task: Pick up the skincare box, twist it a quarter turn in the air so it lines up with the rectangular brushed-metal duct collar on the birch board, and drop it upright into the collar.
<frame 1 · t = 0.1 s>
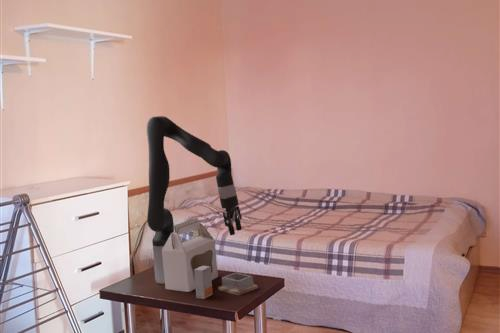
hand: (236, 232, 223), 22 cm above the table, tool pointing down, fingers open, 8 cm apart
birch board: (238, 288, 217), on the table
duct collar: (237, 281, 217), on the birch board, point 3 cm above the table
skincare box: (204, 296, 211), on the table
gable box: (192, 283, 230), on the table
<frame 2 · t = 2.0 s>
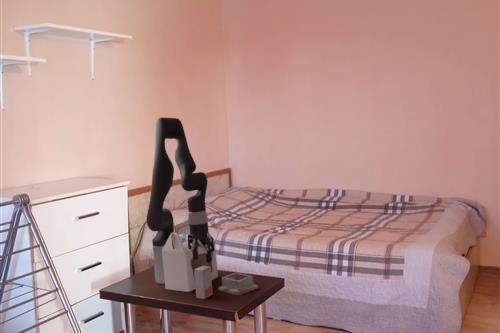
hand: (202, 260, 210), 15 cm above the table, tool pointing down, fingers open, 8 cm apart
nothing on the table moved.
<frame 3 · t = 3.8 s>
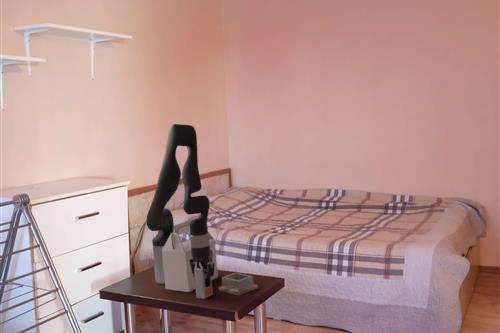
hand: (203, 285, 211), 5 cm above the table, tool pointing down, fingers closed on skincare box, 5 cm apart
skincare box: (204, 296, 211), on the table, touching gripper
everything else where it was.
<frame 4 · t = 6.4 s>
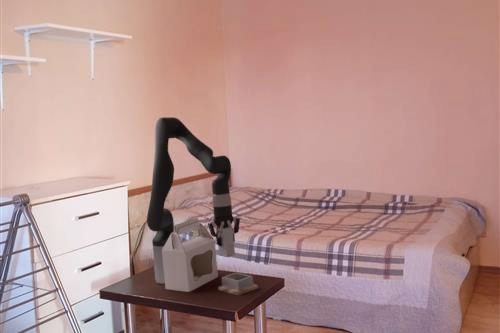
hand: (226, 244, 214), 20 cm above the table, tool pointing down, fingers closed on skincare box, 5 cm apart
skincare box: (227, 255, 214), point 15 cm above the table, touching gripper
everything else where it was.
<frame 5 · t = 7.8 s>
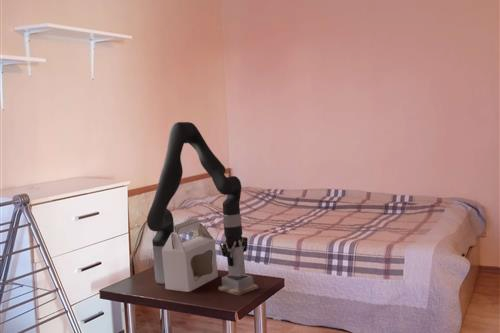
hand: (235, 264, 216), 11 cm above the table, tool pointing down, fingers closed on skincare box, 5 cm apart
skincare box: (237, 275, 216), point 6 cm above the table, touching gripper
everything else where it was.
when the fingers open (7 cm above the table, at t = 8.8 s): skincare box drops 1 cm, resting on birch board.
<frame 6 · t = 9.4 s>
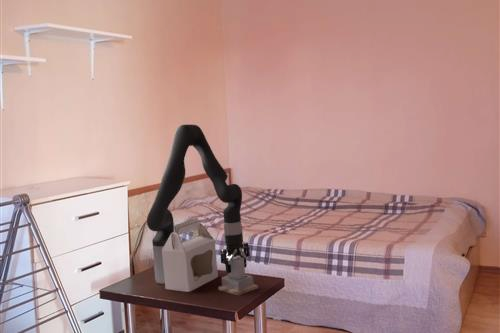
hand: (236, 270, 216), 8 cm above the table, tool pointing down, fingers open, 8 cm apart
skincare box: (237, 286, 217), point 1 cm above the table, touching birch board
everything else where it was.
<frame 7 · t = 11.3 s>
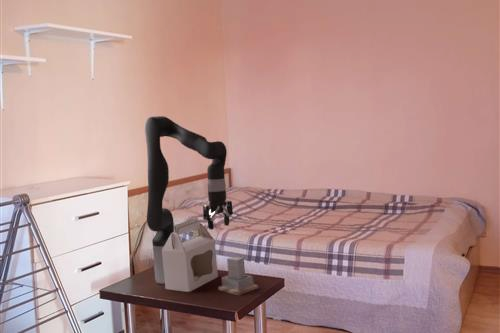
hand: (219, 227, 217), 26 cm above the table, tool pointing down, fingers open, 8 cm apart
nothing on the table moved.
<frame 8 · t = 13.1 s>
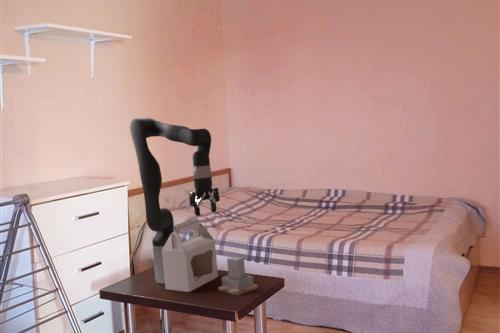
hand: (205, 214, 219), 32 cm above the table, tool pointing down, fingers open, 8 cm apart
nothing on the table moved.
at the end: skincare box 0.1 cm off-centre on the duct collar, point 1.0 cm above the duct collar's base; skincare box tilted 0°; the gripper is holding nothing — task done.
